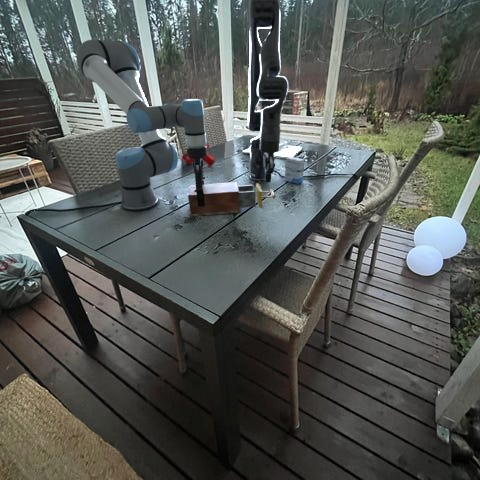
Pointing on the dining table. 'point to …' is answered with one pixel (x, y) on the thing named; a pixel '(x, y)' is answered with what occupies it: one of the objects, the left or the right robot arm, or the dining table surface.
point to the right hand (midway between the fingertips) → (267, 181)
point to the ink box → (294, 170)
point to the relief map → (283, 150)
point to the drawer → (252, 195)
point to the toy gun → (208, 159)
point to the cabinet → (215, 199)
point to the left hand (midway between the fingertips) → (201, 200)
